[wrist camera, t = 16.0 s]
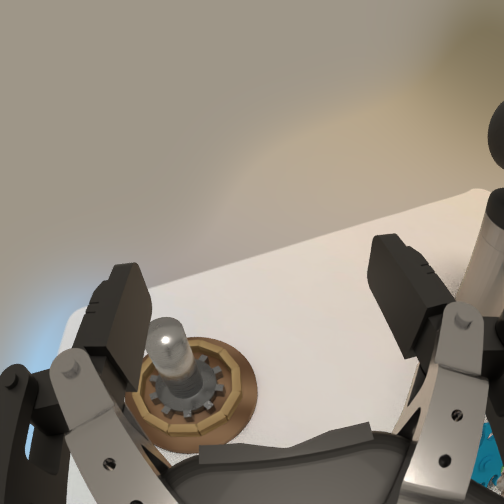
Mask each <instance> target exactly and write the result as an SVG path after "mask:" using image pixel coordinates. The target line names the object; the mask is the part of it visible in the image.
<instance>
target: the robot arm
mask: <svg viewBox="0 0 504 504" xmlns="http://www.w3.org/2000/svg"><path fill="white" fill-rule="evenodd" d="M488 145H489V150H490V153H491V155H492V157H493V159H494V161H495V162H496V163H497V164H498V165H499V166H500V167H501V168H502V169H504V101H503V102H502V103H501V104H500V105H499V106H498V108H497V109H496V110H495V112H494V114H493V116H492V118H491V121H490V124H489V129H488ZM367 279H368V284H369V287H370V290H371V291H372V293H373V295H374V297H375V299H376V301H377V303H378V305H379V307H380V309H381V311H382V313H383V315H384V317H385V319H386V321H387V323H388V325H389V327H390V329H391V331H392V333H393V335H394V338H395V340H396V342H397V344H398V346H399V348H400V350H401V352H402V355H403V357H404V359H408V358H412V357H415V356H417V358H418V360H419V363H418V364H417V367H416V370H415V373H414V377H413V380H412V383H411V387H410V390H409V393H408V396H407V399H406V402H405V405H404V408H403V411H402V413H401V415H400V418H399V419H398V421H397V423H396V425H395V427H394V429H393V431H392V433H388V432H382V431H371V428H370V424H369V422H365V423H361V424H357V425H353V426H349V427H345V428H340V429H335V430H331V431H328V432H325V433H323V434H321V435H319V436H316V437H314V438H312V439H309V440H307V441H305V442H302V443H300V444H297V445H295V446H292V447H289V448H276V447H267V446H258V445H251V444H244V443H236V444H219V445H199V455H196V456H193V457H190V458H187V459H185V460H183V461H181V462H179V463H177V464H175V465H174V466H171V465H170V463H169V462H168V461H167V460H166V459H165V457H164V456H163V455H162V454H161V453H160V452H159V451H158V449H157V448H156V447H155V446H154V445H153V443H152V442H151V440H150V439H149V438H148V436H147V435H146V433H145V432H144V430H143V429H142V427H141V426H140V424H139V423H138V421H137V420H136V418H135V417H134V415H133V414H132V412H131V411H130V409H129V407H128V406H127V404H126V403H125V402H124V398H125V393H126V392H138V386H139V380H140V374H141V368H142V362H143V356H144V351H145V345H146V340H147V335H148V330H149V325H150V320H151V315H152V302H151V297H150V294H149V292H148V289H147V287H146V284H145V281H144V278H143V276H142V273H141V270H140V268H139V266H138V264H137V263H127V264H118V265H115V266H114V267H113V270H112V272H111V274H110V277H109V279H108V280H106V281H103V282H102V283H101V284H100V285H99V286H98V287H97V288H96V290H95V291H94V292H93V295H92V297H91V300H90V302H89V305H88V307H87V309H86V314H84V317H83V319H82V322H81V325H80V327H79V330H78V333H77V335H76V338H75V341H74V344H73V346H72V348H71V349H68V350H65V351H63V352H62V353H60V354H59V355H58V356H57V357H56V358H55V359H54V361H53V362H52V364H51V367H50V369H47V370H43V371H40V372H36V373H33V374H31V373H30V372H29V371H28V370H27V368H26V367H25V366H23V365H21V364H14V365H11V366H9V367H8V368H7V369H5V370H4V371H3V372H2V374H1V375H0V504H66V497H67V482H68V471H69V461H70V452H71V454H72V456H73V459H74V461H75V463H76V465H77V467H78V469H79V471H80V473H81V475H82V477H83V479H84V481H85V483H86V484H87V486H88V488H89V490H90V492H91V494H92V495H93V497H94V499H95V501H96V502H97V504H504V468H503V471H502V475H501V476H500V477H499V479H498V480H497V488H498V490H499V491H502V493H501V495H499V494H497V493H495V492H493V491H492V490H490V489H488V488H486V487H485V486H483V485H481V484H479V483H478V482H476V481H474V480H473V479H471V476H472V472H473V468H474V465H475V461H476V457H477V453H478V448H479V444H480V439H481V434H482V429H483V423H484V417H485V414H486V416H487V419H488V422H489V424H490V427H491V430H492V433H493V435H494V438H495V441H496V444H497V447H498V450H499V453H500V457H501V460H502V463H503V467H504V188H499V189H496V190H494V191H493V192H492V193H491V194H490V196H489V199H488V202H487V206H486V210H485V214H484V218H483V221H482V225H481V228H480V232H479V235H478V238H477V241H476V244H475V247H474V250H473V253H472V256H471V259H470V262H469V264H468V267H467V270H466V272H465V275H464V278H463V280H462V282H461V285H460V287H459V290H458V292H457V295H456V297H455V299H454V297H453V296H452V294H451V293H450V292H449V290H448V289H447V287H446V286H445V285H444V283H443V282H442V281H441V279H440V278H439V277H438V275H437V274H435V271H434V270H433V269H432V267H431V266H429V263H428V262H427V261H426V259H425V258H424V257H423V256H422V254H421V253H419V252H418V251H416V250H415V249H413V248H412V247H410V246H406V245H405V244H404V243H403V241H402V240H401V239H400V238H399V236H398V235H397V234H395V233H394V234H385V235H376V236H374V238H373V241H372V247H371V253H370V259H369V265H368V271H367ZM30 424H32V425H33V426H34V432H33V437H32V442H31V448H30V454H29V460H28V459H27V457H26V455H25V444H26V439H27V434H28V429H29V425H30Z"/></svg>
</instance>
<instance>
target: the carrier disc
mask: <svg viewBox="0 0 504 504" xmlns="http://www.w3.org/2000/svg"><path fill="white" fill-rule="evenodd" d="M187 340H188V342H189V345H190V348H191V350H192V353H193V356H194V358H195V359H199V358H200V356H201V355H205V356H208V359H209V362H210V364H209V366H210V367H211V368H214V367H216V366H219V367H220V369H221V370H222V373H223V378H220V379H218V380H217V382H218V384H223V385H224V386H225V390H226V392H225V397H221V396H217V397H216V399H215V401H214V402H213V404H214V406H215V408H216V411H215V412H213V413H212V414H211V415H210V414H209V413H208V412H207V411H206V410H205V411H203V412H201V413H199V414H196V415H194V420H195V422H186V420H185V419H184V416H182V415H177V414H174V416H173V417H172V419H169V418H167V417H165V416H164V414H163V413H162V412H161V410H162V409H163V407H164V405H163V404H162V403H161V404H158V405H154V403H153V402H152V400H151V398H150V395H149V394H151V393H154V392H156V389H155V387H153V386H152V384H151V382H150V381H149V380H150V377H151V375H156V376H158V375H159V373H158V371H157V369H156V367H155V366H154V364H153V362H152V360H151V358H150V357H149V355H148V354H147V355H146V356H145V357H144V358H143V362H142V368H141V374H140V380H139V386H138V392H126V393H125V403H126V404H127V406H128V407H129V409H130V411H131V412H132V414H133V415H134V417H135V418H136V420H137V421H138V423H139V424H140V426H141V427H142V429H143V430H144V432H145V433H146V435H147V436H148V438H149V439H150V440H151V442H152V443H153V444H154V445H156V446H158V447H160V448H162V449H165V450H168V451H171V452H176V453H185V454H192V453H199V445H219V444H226V443H228V442H229V441H231V440H232V439H233V438H235V437H236V436H237V435H238V434H239V433H240V432H241V431H242V430H243V429H244V428H245V426H246V425H247V424H248V422H249V421H250V419H251V417H252V415H253V413H254V410H255V407H256V403H257V383H256V378H255V374H254V372H253V369H252V367H251V365H250V363H249V362H248V361H247V359H246V358H245V357H244V356H243V355H242V354H241V353H240V352H239V351H238V350H236V349H235V348H234V347H232V346H230V345H228V344H226V343H224V342H222V341H219V340H215V339H211V338H204V337H190V338H187Z"/></svg>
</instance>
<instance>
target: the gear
mask: <svg viewBox="0 0 504 504" xmlns="http://www.w3.org/2000/svg"><path fill="white" fill-rule="evenodd" d="M491 433H492V430H491V427H490V424H489V422H487V423H484V424H483V429H482V437H481V439H480V444H479V448H478V453H477V457H476V461H475V465H474V468H473V472H472V476H471V479H473V480H474V481H476V482H478V483H479V484H480V483H482V484H481V485H483V486H485V487H486V488H487V485H488V483H489V481H490V479H491V478H492V477H493V476H494V475H495V476H494V478H493V479H492V482H493V484H494V485H495V486H496V485H497V480H498V479H499V477H500V476H501V472H502V471H503V468H504V467H503V463H502V460H501V457H500V453H499V450H498V447H497V444H496V441H495V438H494V435H492V436H491V437H490V438H488V436H489V435H490V434H491ZM487 438H488V439H487Z"/></svg>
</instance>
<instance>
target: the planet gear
mask: <svg viewBox="0 0 504 504" xmlns="http://www.w3.org/2000/svg"><path fill="white" fill-rule="evenodd" d="M145 349H146V351H147V353H148V355H149V357H150V358H151V360H152V362H153V364H154V366H155V367H156V369H157V371H158V373H159V375H158V376H156V375H151V377H150V380H149V381H150V382H151V384H152V386H153V387H155V389H156V392H154V393H151V394H149V395H150V398H151V400H152V402H153V403H154V405H158V404H161V403H162V404H163V405H164V407H163V409H162V410H161V412H162V413H163V414H164V416H165V417H167V418H169V419H172V417H173V416H174V414H177V415H182V416H184V419H185V420H186V422H195V420H194V415H196V414H199V413H201V412H203V411H205V410H206V411H207V412H208V413H209V414H210V415H211V414H212V413H213V412H215V411H216V408H215V406H214V404H213V402H214V401H215V399H216V397H217V396H221V397H225V392H226V390H225V386H224V385H223V384H218V382H217V380H218V379H220V378H223V373H222V370H221V369H220V367H219V366H216V367H214V368H211V367H210V366H209V364H210V362H209V359H208V356H205V355H201V356H200V358H199V359H195V358H194V356H193V353H192V350H191V348H190V345H189V342H188V340H187V337H186V334H185V332H184V329H183V326H182V324H181V323H180V322H179V321H178V320H176V319H174V318H171V317H162V318H158V319H155V320H153V321H151V322H150V325H149V330H148V335H147V340H146V345H145Z"/></svg>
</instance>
